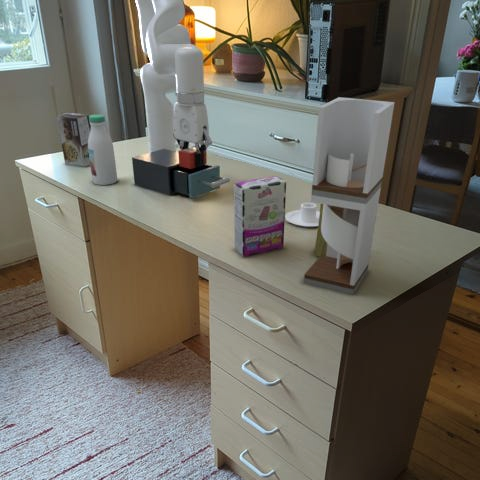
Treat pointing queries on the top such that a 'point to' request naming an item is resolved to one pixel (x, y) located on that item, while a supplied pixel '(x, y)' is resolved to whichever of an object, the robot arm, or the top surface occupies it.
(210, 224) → the top surface
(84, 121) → the printed cardboard box
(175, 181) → the drawer
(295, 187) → the top surface
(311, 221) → the candle holder
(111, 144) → the milk bottle
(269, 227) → the candy bar box
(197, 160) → the robot arm
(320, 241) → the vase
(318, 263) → the tall two-tier shelf
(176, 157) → the cabinet
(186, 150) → the package
